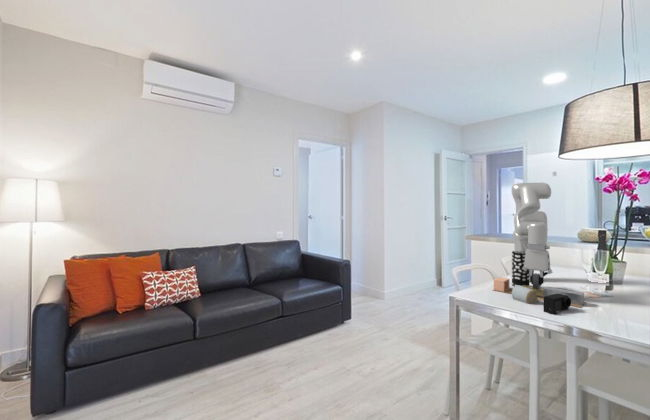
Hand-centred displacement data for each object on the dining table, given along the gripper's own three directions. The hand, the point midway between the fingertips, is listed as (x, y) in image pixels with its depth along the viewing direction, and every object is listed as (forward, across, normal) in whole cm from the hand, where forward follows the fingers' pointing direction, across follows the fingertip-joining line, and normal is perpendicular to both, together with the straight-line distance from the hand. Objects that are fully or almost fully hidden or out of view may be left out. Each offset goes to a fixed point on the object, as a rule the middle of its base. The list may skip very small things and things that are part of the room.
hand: (536, 283), depth 152 cm
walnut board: (+7, 0, 0) cm, 7 cm away
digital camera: (+7, -12, +16) cm, 21 cm away
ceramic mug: (+7, +1, +11) cm, 14 cm away
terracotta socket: (+6, +16, 0) cm, 17 cm away
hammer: (+5, -4, 0) cm, 7 cm away
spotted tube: (+7, +12, -15) cm, 20 cm away
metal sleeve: (+6, -10, 0) cm, 12 cm away
